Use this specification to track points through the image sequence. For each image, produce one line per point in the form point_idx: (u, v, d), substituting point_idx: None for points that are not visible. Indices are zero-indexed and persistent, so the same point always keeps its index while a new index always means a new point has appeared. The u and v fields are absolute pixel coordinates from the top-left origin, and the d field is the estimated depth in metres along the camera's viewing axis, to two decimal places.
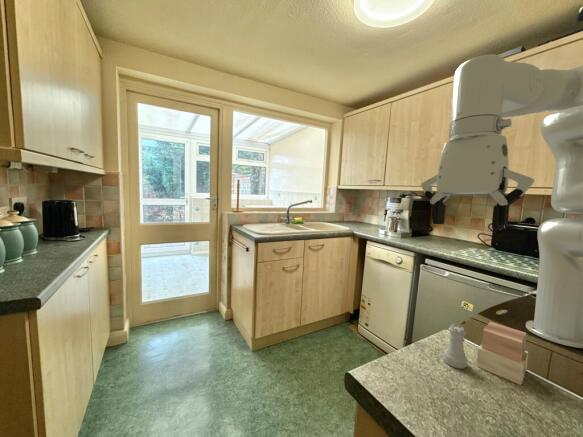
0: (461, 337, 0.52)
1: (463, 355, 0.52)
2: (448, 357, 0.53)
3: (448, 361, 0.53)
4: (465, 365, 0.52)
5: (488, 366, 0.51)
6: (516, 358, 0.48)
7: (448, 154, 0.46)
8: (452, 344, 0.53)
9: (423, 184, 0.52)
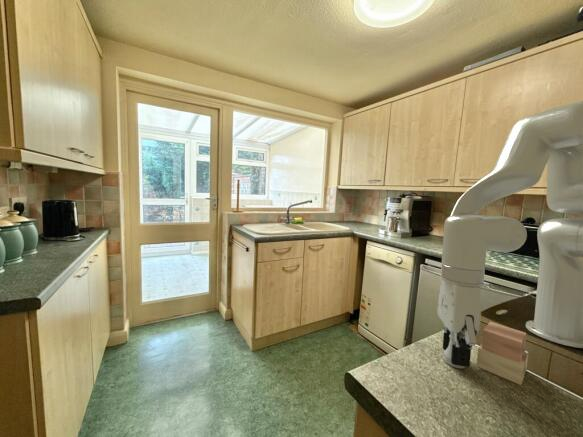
0: (461, 337, 0.52)
1: None
2: (448, 357, 0.53)
3: (448, 361, 0.53)
4: None
5: (488, 366, 0.51)
6: (516, 358, 0.48)
7: None
8: None
9: None
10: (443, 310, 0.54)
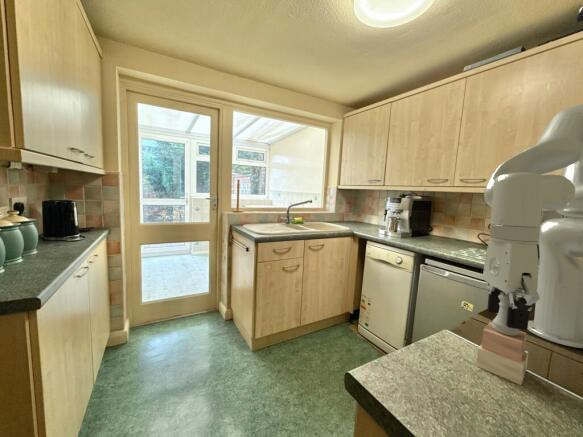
0: None
1: None
2: (499, 325, 0.51)
3: (499, 329, 0.51)
4: (518, 333, 0.50)
5: (488, 366, 0.51)
6: (516, 358, 0.48)
7: None
8: (503, 311, 0.51)
9: None
10: (492, 273, 0.52)
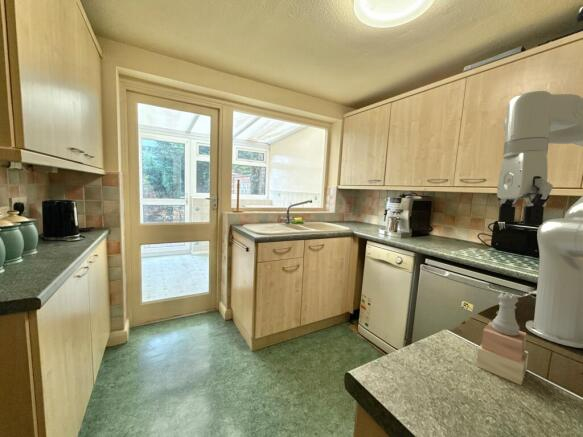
0: (513, 304, 0.50)
1: (515, 322, 0.50)
2: (499, 325, 0.51)
3: (499, 329, 0.51)
4: (518, 333, 0.50)
5: (488, 366, 0.51)
6: (516, 358, 0.48)
7: None
8: (503, 311, 0.51)
9: None
10: (506, 186, 0.59)
